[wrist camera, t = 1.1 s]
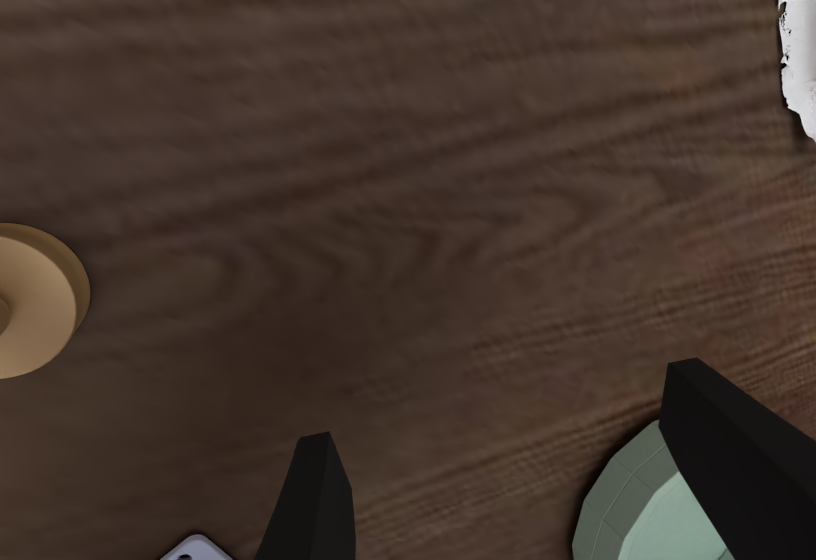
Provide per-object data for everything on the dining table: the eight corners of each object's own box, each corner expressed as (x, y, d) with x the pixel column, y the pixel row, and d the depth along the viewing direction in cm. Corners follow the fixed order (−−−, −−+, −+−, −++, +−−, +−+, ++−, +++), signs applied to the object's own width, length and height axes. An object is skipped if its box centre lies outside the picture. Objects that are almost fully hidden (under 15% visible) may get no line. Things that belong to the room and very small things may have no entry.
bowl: (626, 646, 32) (671, 703, 29) (526, 518, 27) (566, 570, 24) (786, 501, 34) (845, 540, 31) (719, 352, 29) (782, 381, 25)
